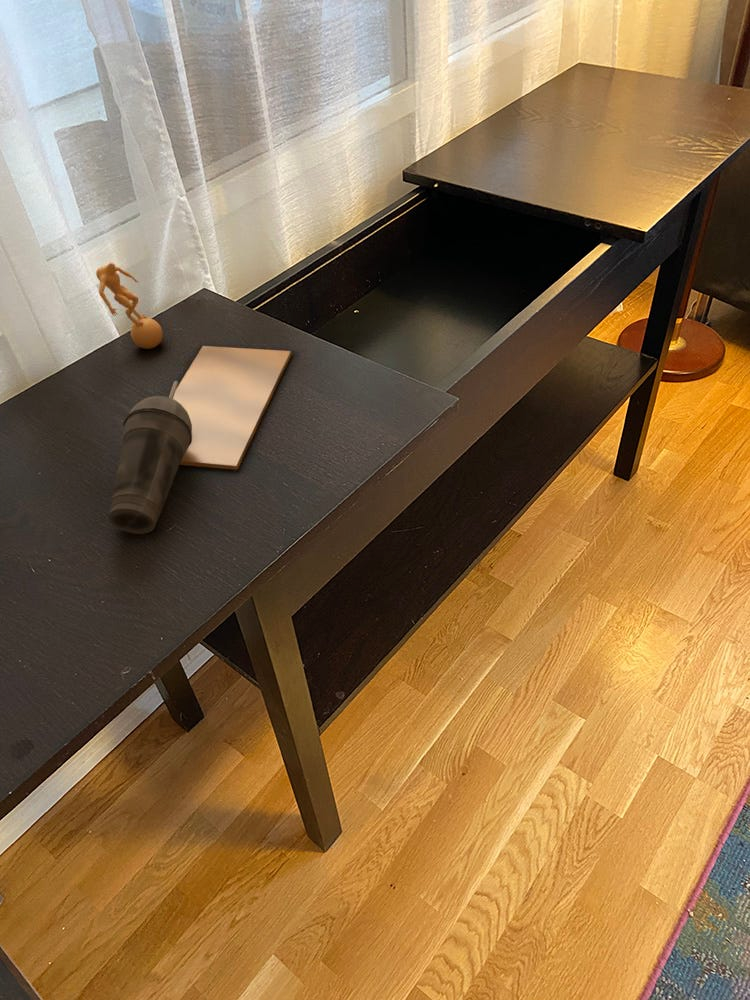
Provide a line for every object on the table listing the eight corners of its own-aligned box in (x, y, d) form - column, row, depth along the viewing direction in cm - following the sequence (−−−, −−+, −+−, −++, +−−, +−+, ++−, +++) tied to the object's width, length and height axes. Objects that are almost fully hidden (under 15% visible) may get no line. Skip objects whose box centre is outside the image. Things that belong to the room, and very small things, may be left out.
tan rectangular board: (237, 470, 85) (236, 466, 85) (135, 461, 87) (134, 457, 87) (291, 354, 100) (291, 350, 100) (203, 349, 102) (202, 345, 102)
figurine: (155, 364, 101) (128, 279, 92) (111, 364, 101) (80, 280, 93) (174, 329, 106) (150, 246, 98) (132, 328, 107) (105, 246, 99)
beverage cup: (86, 496, 74) (137, 348, 86) (102, 537, 80) (147, 393, 92) (163, 504, 74) (203, 355, 86) (173, 544, 80) (209, 400, 92)
